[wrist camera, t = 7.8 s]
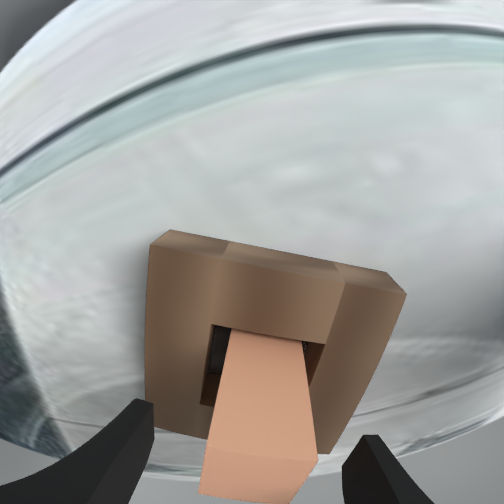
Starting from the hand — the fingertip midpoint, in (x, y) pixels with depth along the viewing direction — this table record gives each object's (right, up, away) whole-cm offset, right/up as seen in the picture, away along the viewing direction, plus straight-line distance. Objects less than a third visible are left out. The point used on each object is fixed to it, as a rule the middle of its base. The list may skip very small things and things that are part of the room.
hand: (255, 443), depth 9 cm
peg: (0, +2, +6) cm, 6 cm away
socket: (0, +2, +6) cm, 6 cm away
